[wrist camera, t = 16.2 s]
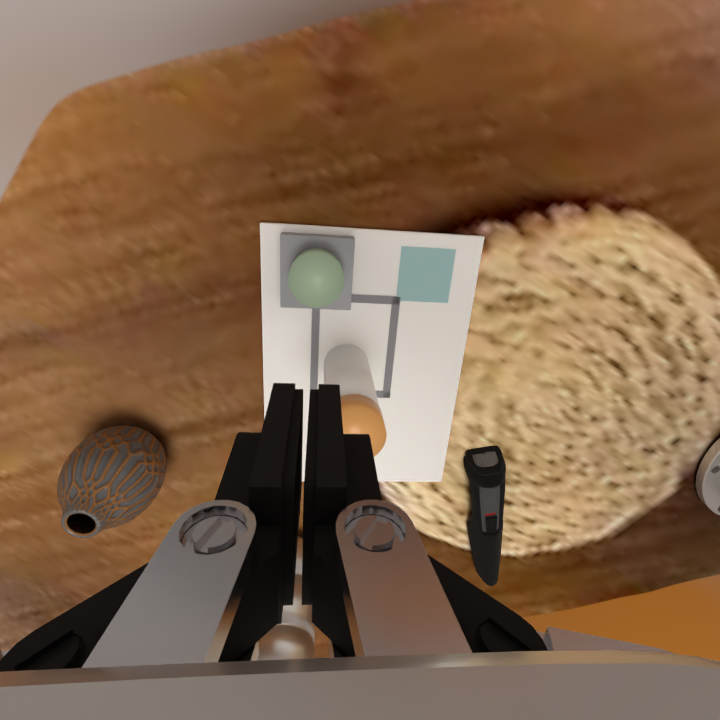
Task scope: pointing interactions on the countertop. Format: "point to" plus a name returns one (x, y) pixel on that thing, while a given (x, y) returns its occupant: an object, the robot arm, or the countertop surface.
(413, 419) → the sheet
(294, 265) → the button
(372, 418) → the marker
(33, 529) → the countertop surface
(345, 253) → the button housing
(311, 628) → the plastic bottle
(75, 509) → the vase
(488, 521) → the electric trimmer
